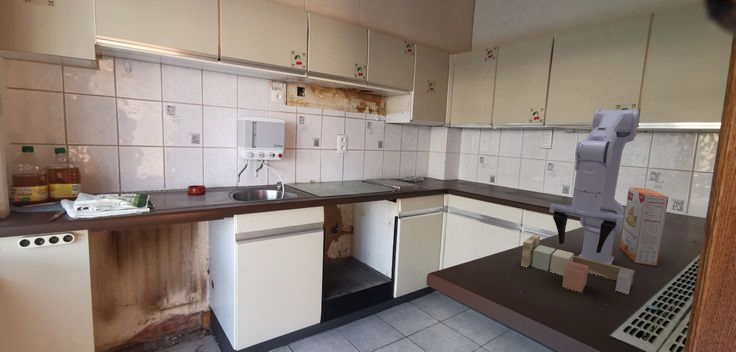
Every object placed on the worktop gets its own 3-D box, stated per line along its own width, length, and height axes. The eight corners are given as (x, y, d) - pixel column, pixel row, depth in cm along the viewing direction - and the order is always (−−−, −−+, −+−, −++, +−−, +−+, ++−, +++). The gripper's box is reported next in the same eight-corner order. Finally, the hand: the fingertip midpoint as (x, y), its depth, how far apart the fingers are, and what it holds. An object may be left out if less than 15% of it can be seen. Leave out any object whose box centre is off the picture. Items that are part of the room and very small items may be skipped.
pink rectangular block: (567, 279, 85) (570, 261, 84) (585, 285, 82) (588, 266, 82) (562, 287, 81) (564, 268, 80) (581, 293, 78) (584, 273, 77)
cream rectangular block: (555, 266, 94) (557, 249, 93) (571, 270, 91) (573, 253, 90) (549, 272, 89) (551, 254, 88) (566, 277, 86) (569, 259, 86)
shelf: (532, 256, 100) (534, 234, 99) (632, 283, 84) (636, 257, 83) (520, 266, 92) (523, 242, 91) (629, 298, 76) (633, 269, 75)
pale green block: (537, 261, 96) (539, 245, 96) (553, 265, 94) (555, 248, 93) (531, 267, 92) (533, 250, 91) (547, 271, 89) (549, 254, 89)
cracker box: (618, 248, 111) (628, 186, 108) (640, 251, 109) (651, 188, 106) (632, 263, 98) (643, 193, 95) (657, 267, 96) (670, 196, 93)
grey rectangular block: (617, 283, 84) (620, 268, 84) (630, 287, 83) (632, 271, 82) (615, 291, 80) (617, 275, 79) (628, 295, 78) (631, 279, 78)
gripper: (549, 187, 80) (542, 242, 81) (625, 198, 70) (614, 260, 72) (556, 186, 85) (549, 237, 87) (627, 195, 76) (618, 253, 77)
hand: (579, 247), depth 80 cm, fingers open, 7 cm apart
